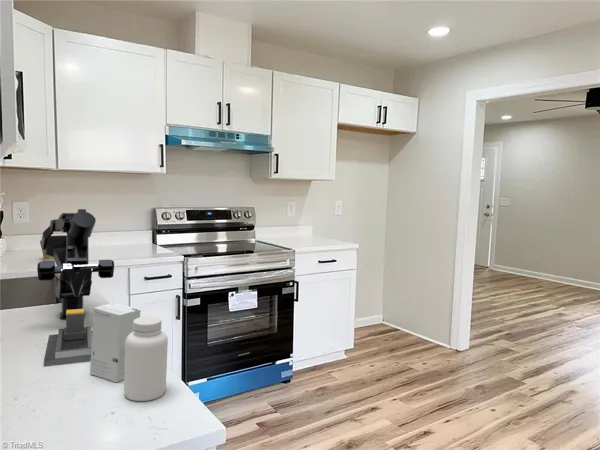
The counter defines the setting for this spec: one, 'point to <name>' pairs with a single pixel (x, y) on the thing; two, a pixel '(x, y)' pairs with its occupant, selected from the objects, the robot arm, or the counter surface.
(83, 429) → the counter surface
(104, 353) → the skincare box
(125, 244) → the counter surface
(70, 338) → the breaker handle
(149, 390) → the pill bottle
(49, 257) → the ceramic cup
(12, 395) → the counter surface
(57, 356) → the grey shallow rectangular piece
